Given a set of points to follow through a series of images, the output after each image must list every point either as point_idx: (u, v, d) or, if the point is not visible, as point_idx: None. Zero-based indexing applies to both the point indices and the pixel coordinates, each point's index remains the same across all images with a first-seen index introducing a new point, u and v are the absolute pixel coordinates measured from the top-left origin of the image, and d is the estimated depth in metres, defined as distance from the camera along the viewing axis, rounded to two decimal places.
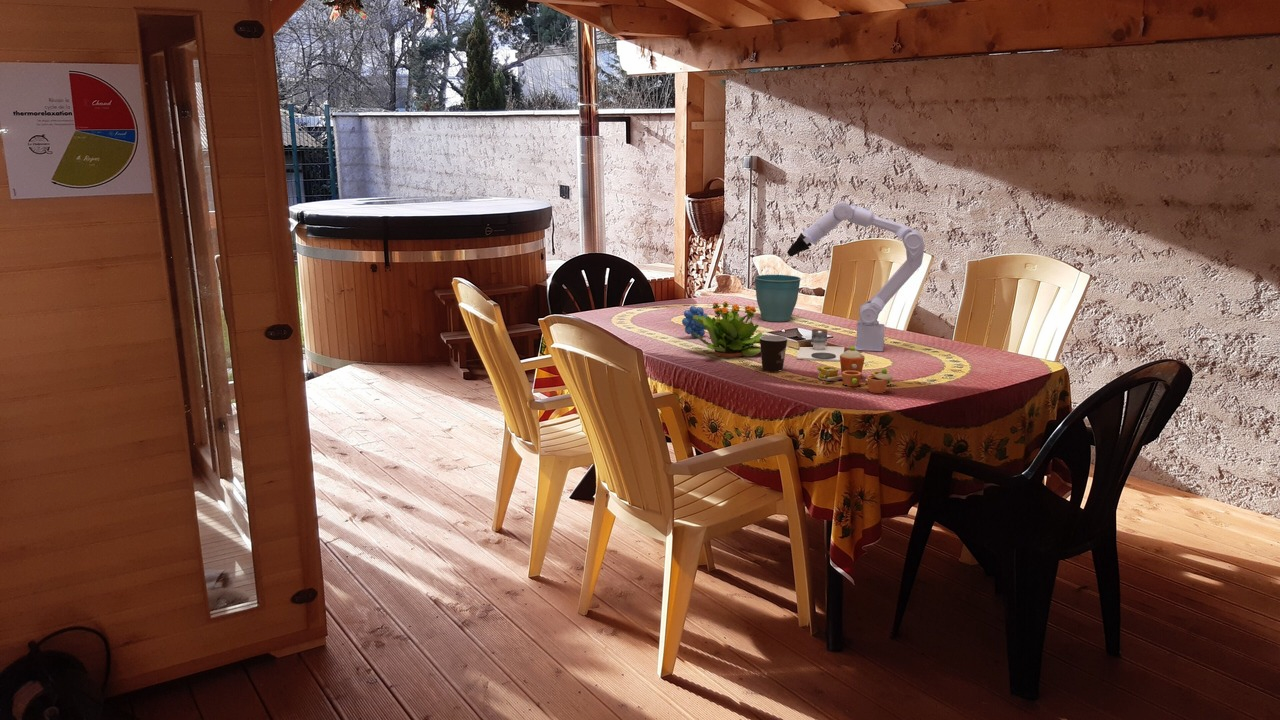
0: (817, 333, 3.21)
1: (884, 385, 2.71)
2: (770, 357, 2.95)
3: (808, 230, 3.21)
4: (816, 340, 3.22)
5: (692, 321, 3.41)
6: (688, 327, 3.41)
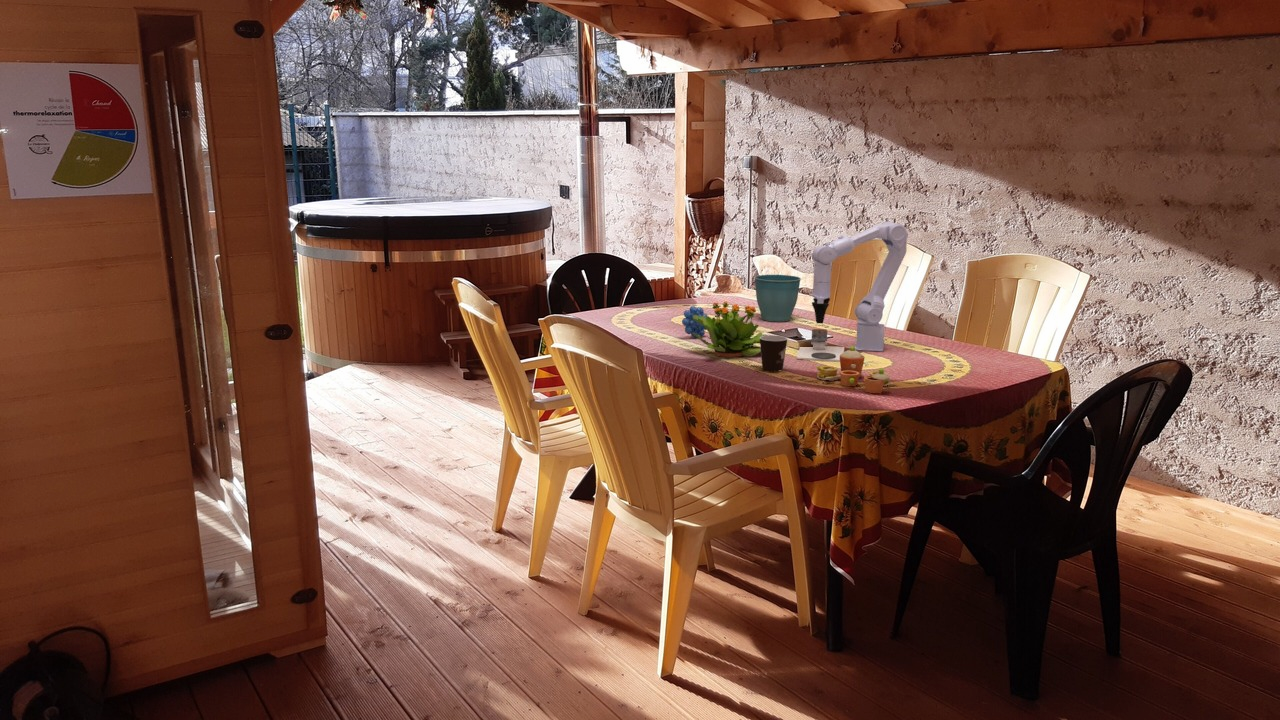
0: (817, 333, 3.21)
1: (881, 385, 2.71)
2: (770, 357, 2.95)
3: (814, 292, 3.19)
4: (816, 340, 3.22)
5: (692, 321, 3.41)
6: (688, 327, 3.41)
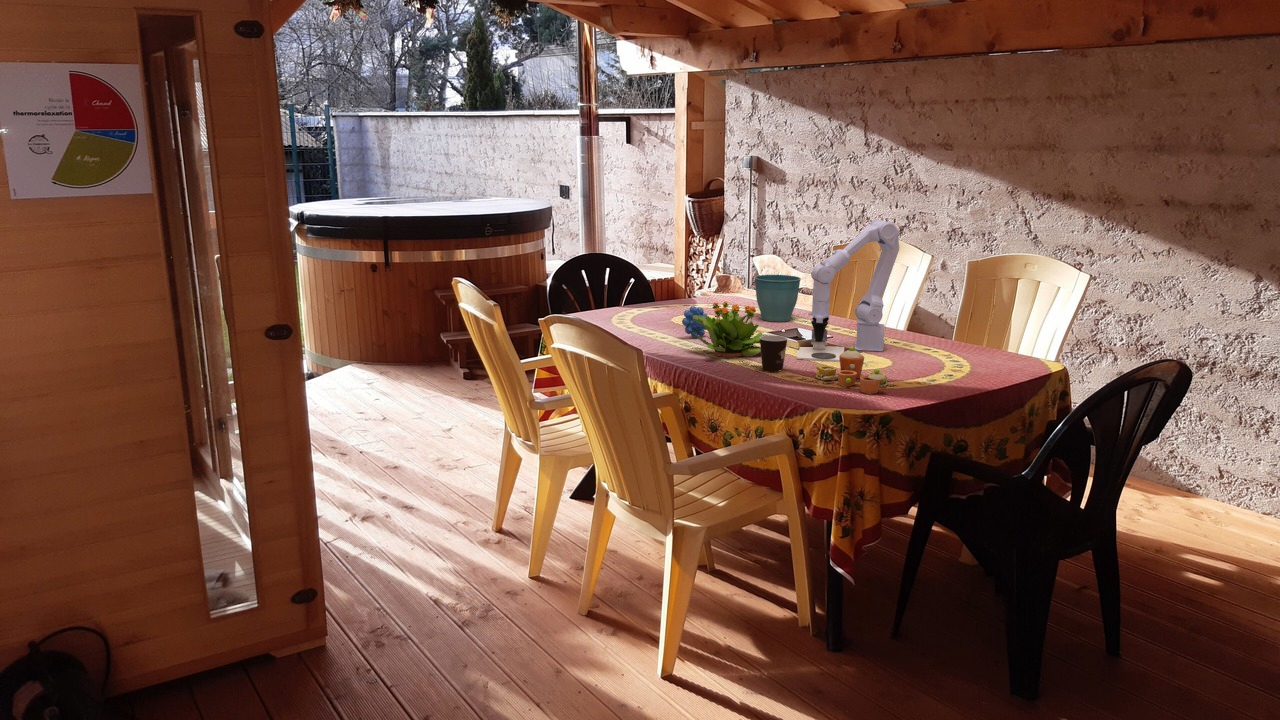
0: None
1: (876, 386, 2.70)
2: (770, 357, 2.95)
3: (814, 311, 3.20)
4: None
5: (692, 321, 3.41)
6: (688, 327, 3.41)
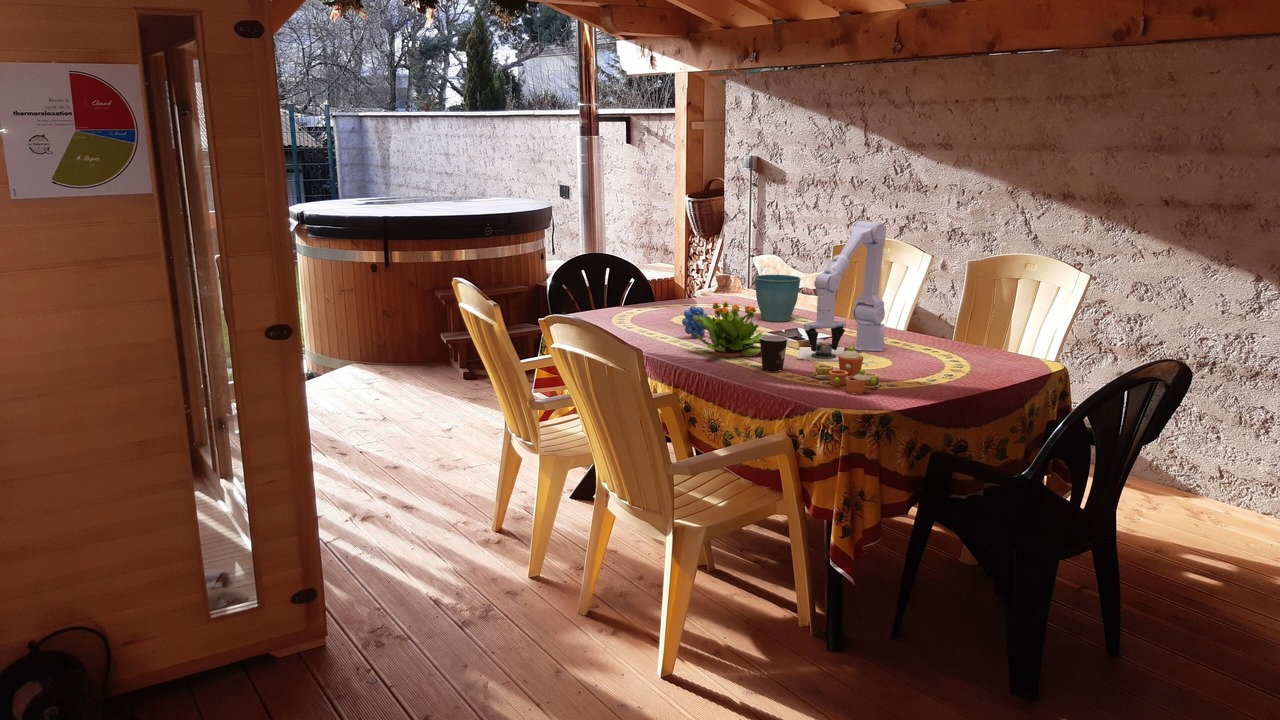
0: None
1: (859, 386, 2.70)
2: (770, 357, 2.95)
3: None
4: (815, 353, 3.14)
5: (692, 321, 3.41)
6: (688, 327, 3.41)
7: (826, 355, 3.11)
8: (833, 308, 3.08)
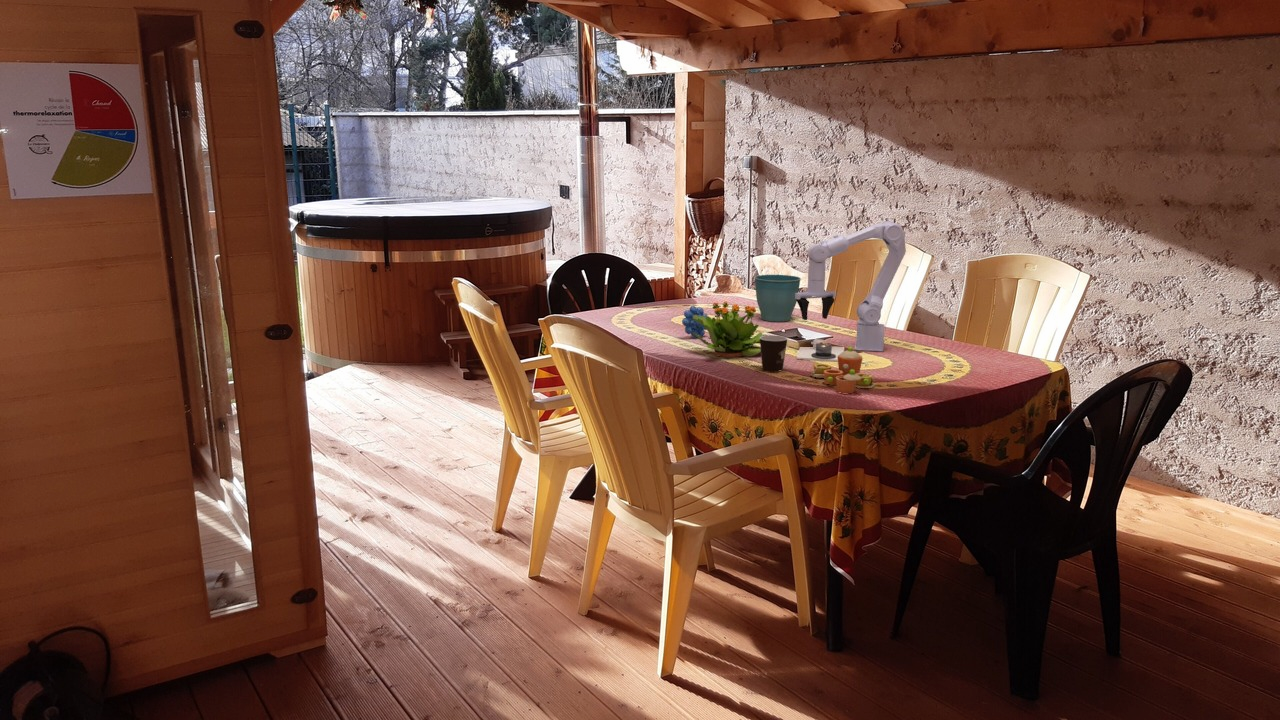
0: (816, 346, 3.13)
1: (849, 386, 2.70)
2: (770, 357, 2.95)
3: None
4: (815, 353, 3.14)
5: (692, 321, 3.41)
6: (688, 327, 3.41)
7: (826, 355, 3.11)
8: (819, 278, 3.20)
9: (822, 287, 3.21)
